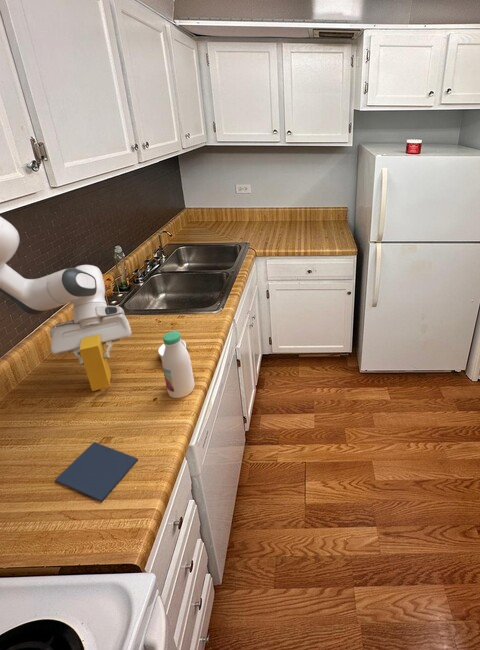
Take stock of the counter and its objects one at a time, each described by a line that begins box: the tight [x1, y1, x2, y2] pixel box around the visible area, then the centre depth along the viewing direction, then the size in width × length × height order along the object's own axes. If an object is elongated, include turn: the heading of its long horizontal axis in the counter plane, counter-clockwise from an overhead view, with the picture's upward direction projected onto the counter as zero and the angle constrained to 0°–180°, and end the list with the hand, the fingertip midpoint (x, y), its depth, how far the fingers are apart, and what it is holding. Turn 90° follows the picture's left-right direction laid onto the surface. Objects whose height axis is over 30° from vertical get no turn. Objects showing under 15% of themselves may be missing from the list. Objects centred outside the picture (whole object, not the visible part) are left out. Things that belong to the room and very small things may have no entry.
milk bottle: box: [161, 330, 195, 399], centre depth 98 cm, size 8×8×20 cm
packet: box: [79, 334, 112, 392], centre depth 98 cm, size 6×4×15 cm
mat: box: [54, 441, 139, 503], centre depth 78 cm, size 14×10×1 cm
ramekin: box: [157, 339, 187, 361], centre depth 114 cm, size 9×9×4 cm
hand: (95, 361), depth 97 cm, fingers closed on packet, 4 cm apart
